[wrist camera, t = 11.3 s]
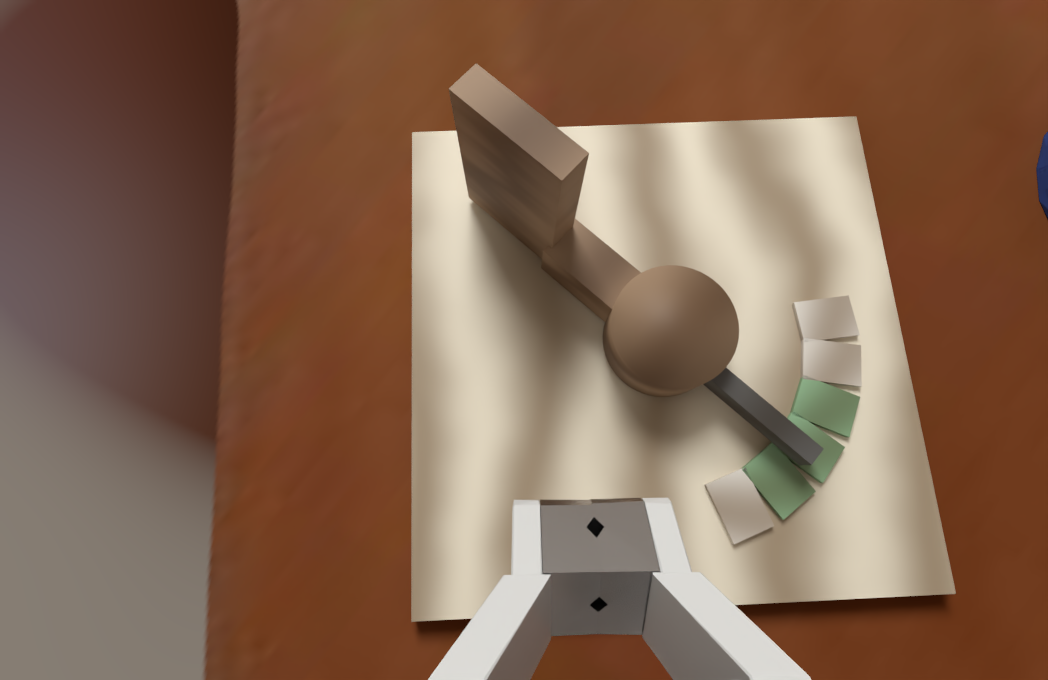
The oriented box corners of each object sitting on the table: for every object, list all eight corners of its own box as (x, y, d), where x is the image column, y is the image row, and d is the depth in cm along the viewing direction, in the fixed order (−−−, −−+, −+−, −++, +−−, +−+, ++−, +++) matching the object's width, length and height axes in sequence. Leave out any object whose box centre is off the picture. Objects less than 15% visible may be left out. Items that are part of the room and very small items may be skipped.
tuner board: (415, 616, 27) (410, 623, 26) (415, 142, 33) (411, 129, 32) (940, 589, 28) (960, 595, 26) (846, 126, 34) (859, 113, 32)
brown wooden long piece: (441, 224, 30) (409, 124, 22) (514, 152, 32) (513, 29, 23) (764, 504, 27) (880, 519, 18) (834, 413, 28) (976, 386, 20)
